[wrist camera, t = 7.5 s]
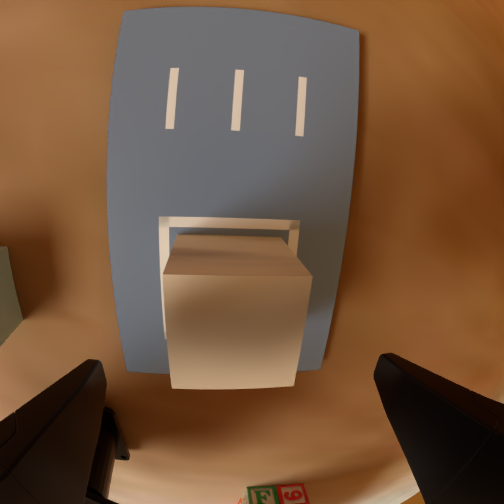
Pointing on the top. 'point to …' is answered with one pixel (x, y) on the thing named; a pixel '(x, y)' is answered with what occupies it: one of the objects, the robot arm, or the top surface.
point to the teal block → (7, 298)
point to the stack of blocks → (275, 495)
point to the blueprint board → (227, 153)
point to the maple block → (234, 312)
